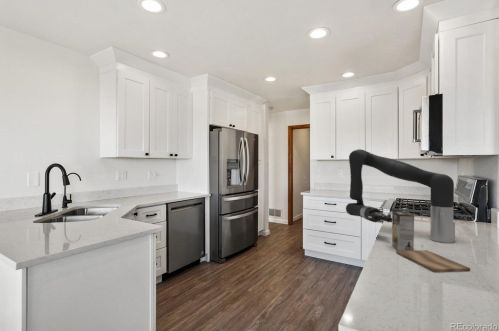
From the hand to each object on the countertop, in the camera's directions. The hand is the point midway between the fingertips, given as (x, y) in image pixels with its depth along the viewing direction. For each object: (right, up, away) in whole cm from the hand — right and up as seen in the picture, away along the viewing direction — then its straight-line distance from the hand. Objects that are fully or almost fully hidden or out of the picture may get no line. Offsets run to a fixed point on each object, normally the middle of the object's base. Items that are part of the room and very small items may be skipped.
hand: (390, 220), depth 126 cm
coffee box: (+1, -11, -9) cm, 14 cm away
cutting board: (+2, -11, -24) cm, 26 cm away
